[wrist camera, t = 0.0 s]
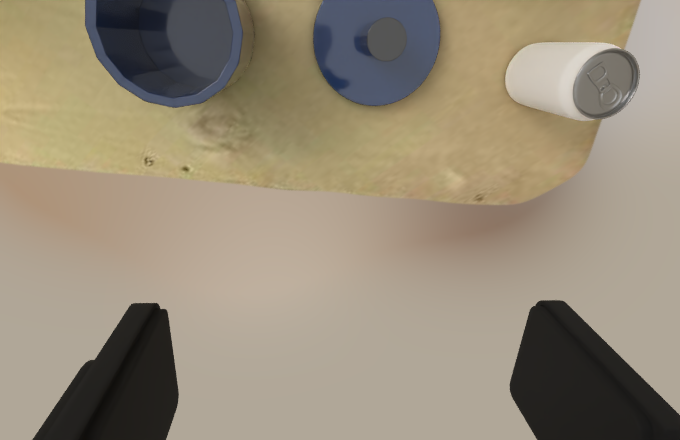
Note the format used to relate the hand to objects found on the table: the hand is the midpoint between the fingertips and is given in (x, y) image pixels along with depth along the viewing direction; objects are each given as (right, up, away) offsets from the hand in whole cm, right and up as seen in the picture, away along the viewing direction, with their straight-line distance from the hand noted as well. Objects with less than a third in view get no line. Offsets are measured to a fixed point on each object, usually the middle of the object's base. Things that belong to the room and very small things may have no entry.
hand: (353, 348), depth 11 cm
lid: (+3, +22, +31) cm, 38 cm away
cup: (-15, +22, +30) cm, 40 cm away
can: (+21, +19, +35) cm, 45 cm away
